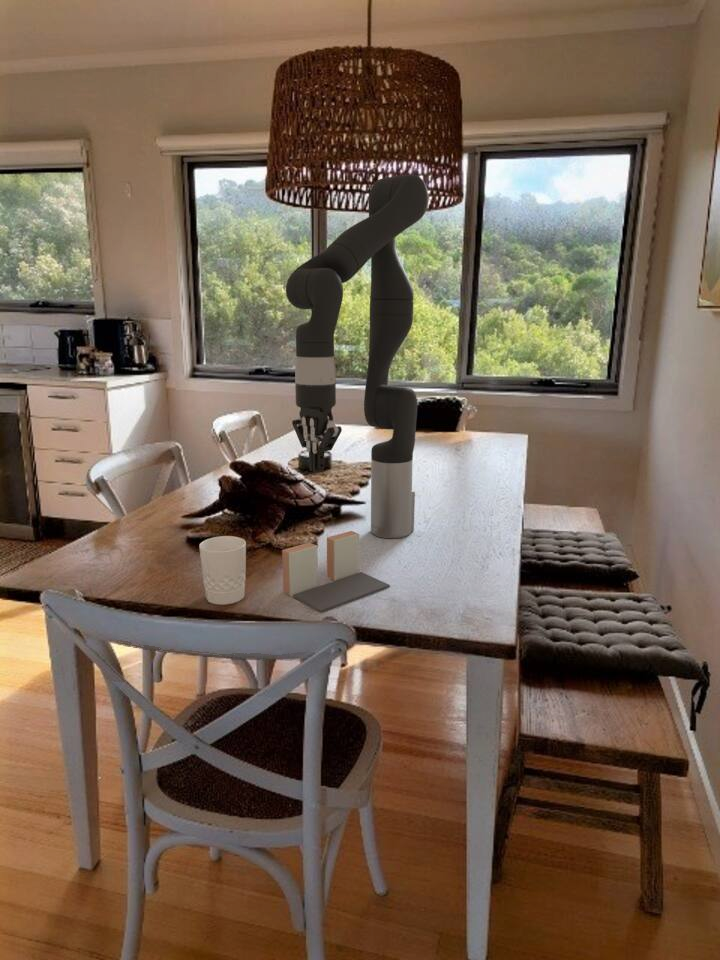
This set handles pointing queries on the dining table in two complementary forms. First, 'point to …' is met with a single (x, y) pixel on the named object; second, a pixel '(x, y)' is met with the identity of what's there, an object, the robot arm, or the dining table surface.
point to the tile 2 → (342, 555)
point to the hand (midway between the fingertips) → (316, 471)
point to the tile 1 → (300, 568)
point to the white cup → (223, 569)
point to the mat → (340, 591)
